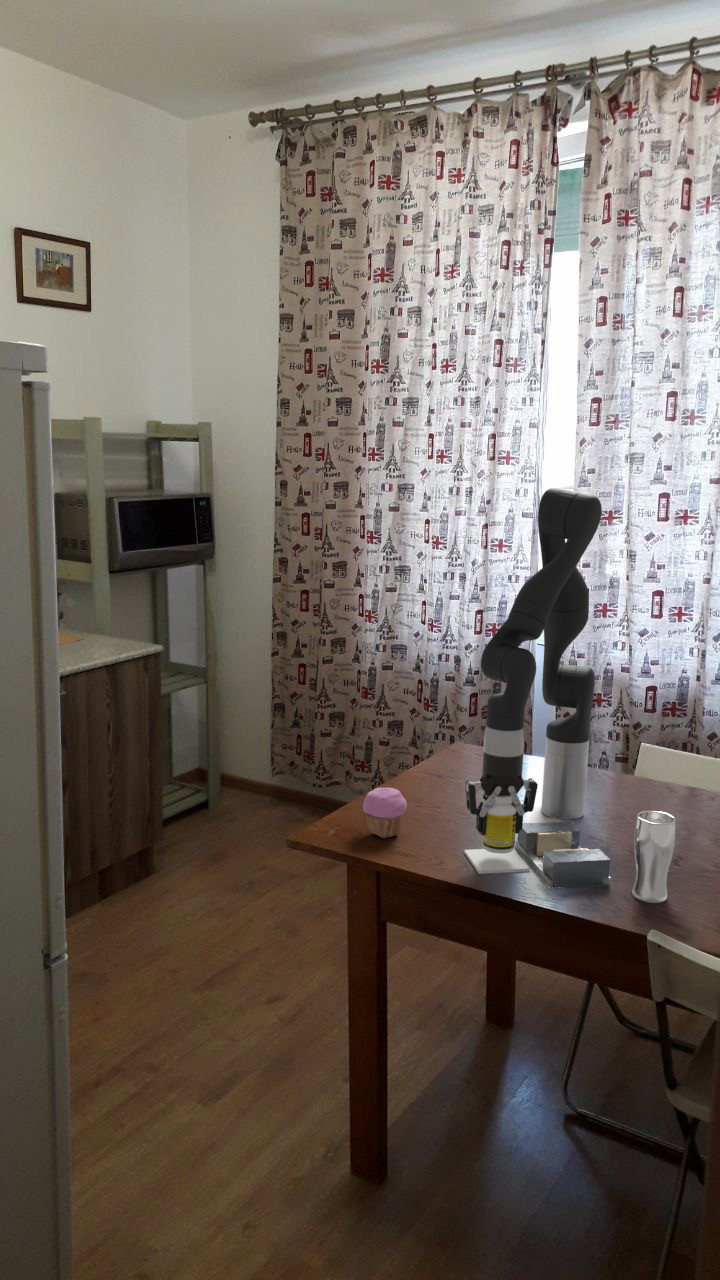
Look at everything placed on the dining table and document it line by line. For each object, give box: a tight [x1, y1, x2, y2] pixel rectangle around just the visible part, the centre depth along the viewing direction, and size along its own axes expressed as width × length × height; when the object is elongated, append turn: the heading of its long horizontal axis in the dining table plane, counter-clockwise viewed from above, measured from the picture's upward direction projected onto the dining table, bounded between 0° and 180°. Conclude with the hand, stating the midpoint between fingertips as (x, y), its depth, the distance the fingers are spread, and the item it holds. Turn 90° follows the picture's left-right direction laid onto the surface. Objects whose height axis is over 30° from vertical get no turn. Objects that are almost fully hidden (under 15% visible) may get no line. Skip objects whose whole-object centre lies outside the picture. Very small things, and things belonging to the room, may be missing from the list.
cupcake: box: [362, 787, 408, 839], centre depth 204 cm, size 9×9×10 cm
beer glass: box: [632, 810, 677, 904], centre depth 179 cm, size 7×7×15 cm
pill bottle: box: [481, 795, 516, 854], centre depth 191 cm, size 6×6×11 cm
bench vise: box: [514, 820, 612, 889], centre depth 192 cm, size 19×12×5 cm, turn 10°
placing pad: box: [463, 848, 531, 875], centre depth 193 cm, size 10×10×1 cm
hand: (498, 832), depth 192 cm, fingers closed on pill bottle, 6 cm apart
